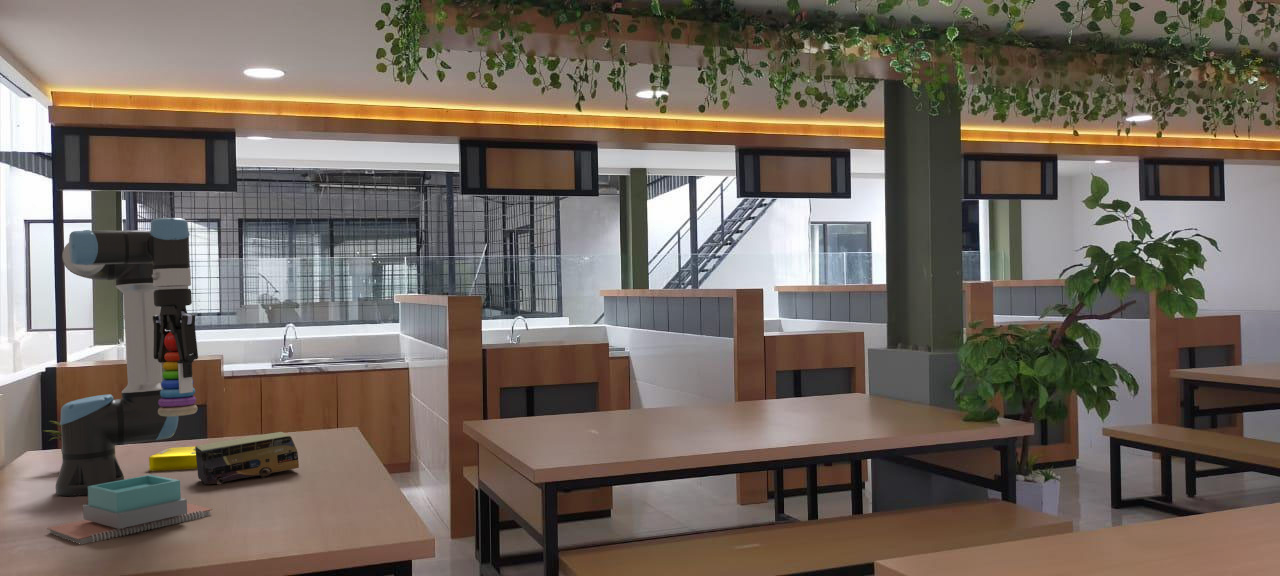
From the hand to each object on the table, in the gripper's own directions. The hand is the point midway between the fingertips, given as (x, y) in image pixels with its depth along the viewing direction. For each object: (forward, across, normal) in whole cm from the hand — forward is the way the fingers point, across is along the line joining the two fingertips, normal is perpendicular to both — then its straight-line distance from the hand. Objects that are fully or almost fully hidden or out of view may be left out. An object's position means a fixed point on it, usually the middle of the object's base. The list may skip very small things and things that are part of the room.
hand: (177, 391), depth 211 cm
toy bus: (+27, -24, +31) cm, 48 cm away
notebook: (+28, -1, -10) cm, 30 cm away
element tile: (+28, -58, +32) cm, 72 cm away
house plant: (+27, -85, +15) cm, 91 cm away
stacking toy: (+5, 0, 0) cm, 5 cm away
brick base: (+25, +1, -11) cm, 27 cm away
